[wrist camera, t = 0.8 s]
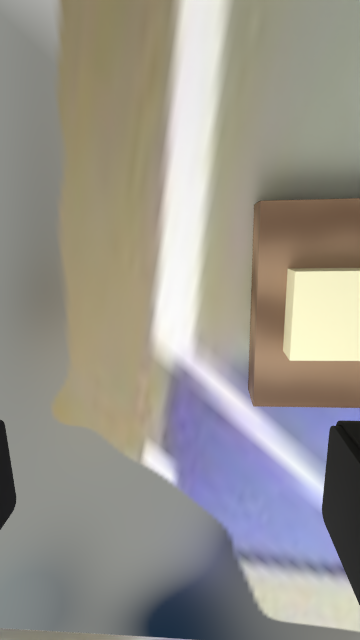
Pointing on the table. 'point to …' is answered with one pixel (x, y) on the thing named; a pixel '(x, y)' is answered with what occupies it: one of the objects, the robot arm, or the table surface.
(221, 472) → the table surface
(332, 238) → the block
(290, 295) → the notepad
